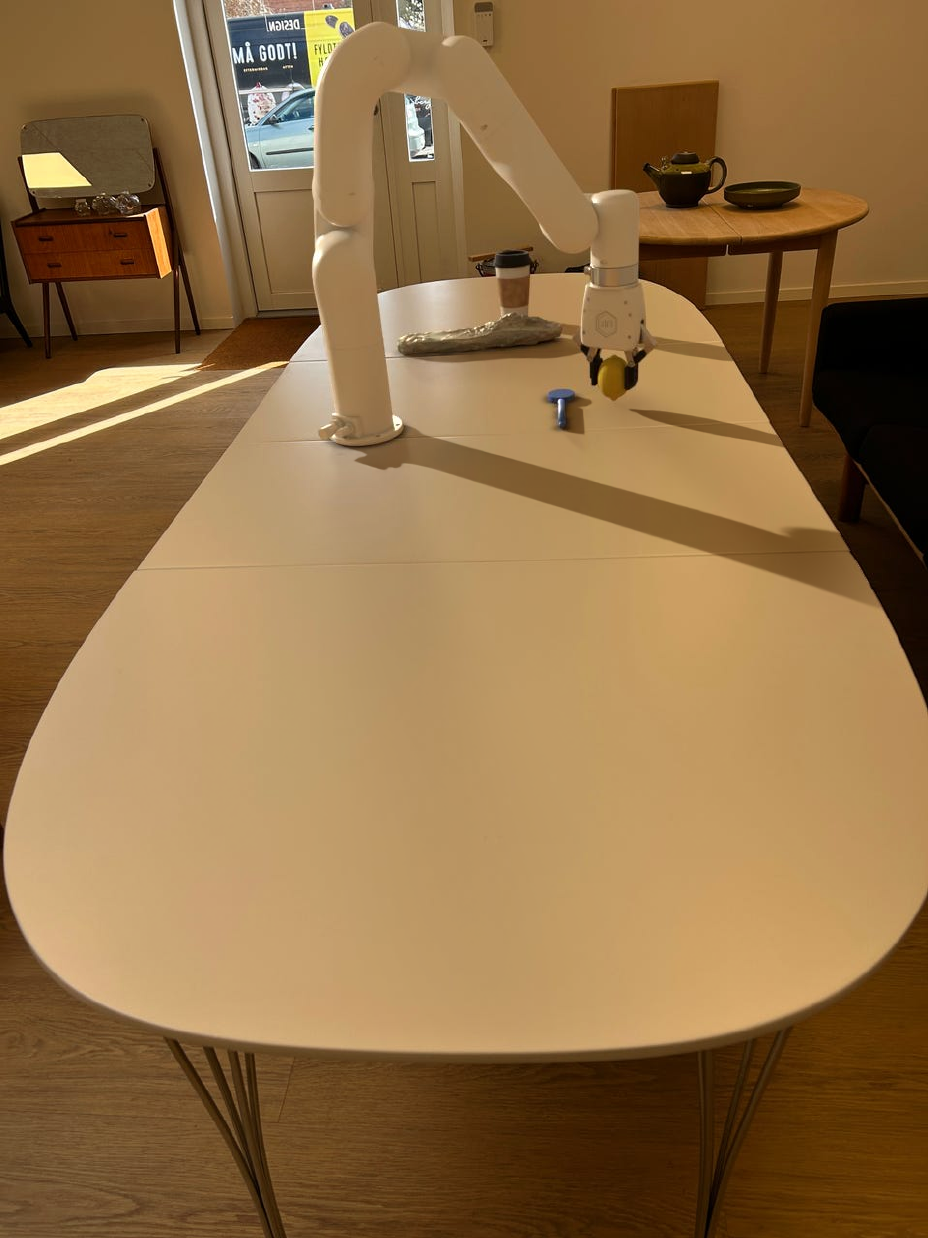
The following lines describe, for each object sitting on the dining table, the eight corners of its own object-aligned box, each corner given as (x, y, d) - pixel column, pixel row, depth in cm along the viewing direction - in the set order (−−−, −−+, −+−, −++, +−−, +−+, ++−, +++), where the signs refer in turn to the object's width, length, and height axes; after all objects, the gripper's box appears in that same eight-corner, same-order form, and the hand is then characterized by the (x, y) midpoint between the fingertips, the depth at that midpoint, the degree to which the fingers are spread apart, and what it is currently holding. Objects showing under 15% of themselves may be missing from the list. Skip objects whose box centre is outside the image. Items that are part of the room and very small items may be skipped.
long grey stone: (399, 351, 203) (399, 367, 195) (395, 327, 200) (394, 343, 192) (559, 328, 202) (565, 343, 194) (557, 303, 199) (563, 318, 191)
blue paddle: (576, 428, 153) (576, 421, 152) (547, 430, 154) (547, 423, 153) (574, 393, 168) (574, 386, 167) (547, 394, 168) (547, 388, 168)
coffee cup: (492, 325, 210) (488, 255, 202) (502, 315, 217) (498, 247, 209) (528, 325, 208) (525, 255, 200) (537, 315, 214) (534, 246, 206)
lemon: (629, 394, 162) (629, 348, 158) (630, 405, 158) (631, 358, 153) (597, 396, 163) (597, 350, 159) (597, 407, 158) (597, 360, 154)
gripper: (556, 277, 151) (558, 386, 161) (654, 283, 142) (650, 398, 152) (578, 267, 156) (579, 373, 166) (674, 272, 147) (669, 384, 157)
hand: (613, 384), depth 159 cm, fingers closed on lemon, 5 cm apart
